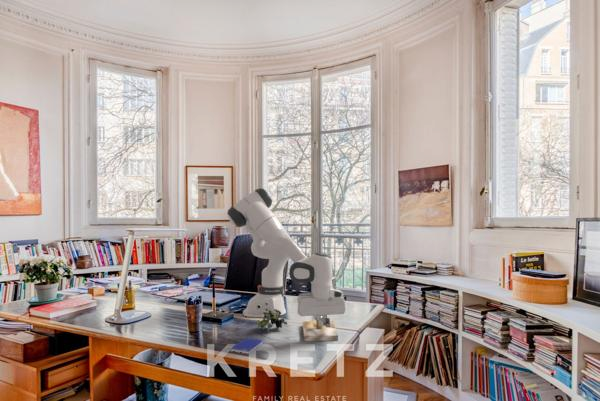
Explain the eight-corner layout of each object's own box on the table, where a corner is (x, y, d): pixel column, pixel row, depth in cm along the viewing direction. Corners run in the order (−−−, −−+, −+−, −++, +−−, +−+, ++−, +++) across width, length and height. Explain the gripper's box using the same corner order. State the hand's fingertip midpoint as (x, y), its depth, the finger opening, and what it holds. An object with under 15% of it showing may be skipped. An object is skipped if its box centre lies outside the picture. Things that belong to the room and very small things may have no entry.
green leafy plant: (277, 340, 172) (292, 319, 171) (265, 343, 162) (281, 321, 161) (261, 323, 177) (275, 303, 176) (248, 325, 167) (264, 304, 166)
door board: (304, 341, 155) (304, 327, 155) (302, 325, 176) (302, 313, 176) (338, 340, 156) (338, 327, 156) (332, 324, 177) (332, 313, 177)
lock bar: (314, 318, 167) (314, 311, 167) (321, 318, 168) (321, 310, 168) (324, 327, 154) (324, 319, 154) (332, 326, 155) (332, 318, 155)
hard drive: (248, 350, 142) (262, 340, 154) (229, 348, 145) (245, 337, 157) (248, 355, 142) (263, 344, 154) (229, 352, 145) (245, 341, 157)
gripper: (299, 294, 152) (299, 329, 152) (347, 292, 157) (346, 326, 157) (295, 291, 158) (295, 324, 158) (341, 289, 163) (341, 322, 163)
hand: (321, 325), depth 157 cm, fingers closed
